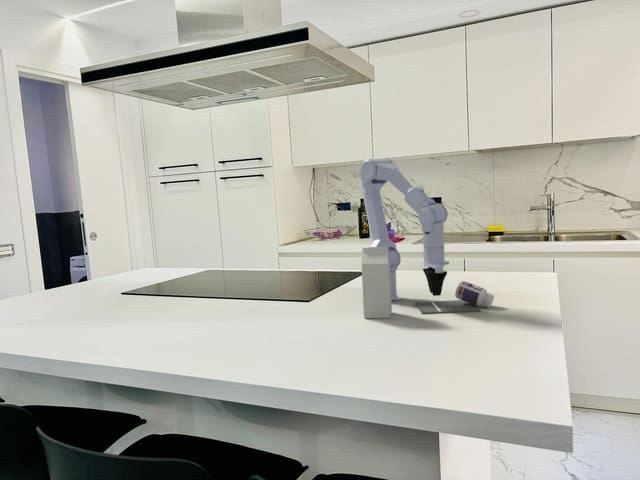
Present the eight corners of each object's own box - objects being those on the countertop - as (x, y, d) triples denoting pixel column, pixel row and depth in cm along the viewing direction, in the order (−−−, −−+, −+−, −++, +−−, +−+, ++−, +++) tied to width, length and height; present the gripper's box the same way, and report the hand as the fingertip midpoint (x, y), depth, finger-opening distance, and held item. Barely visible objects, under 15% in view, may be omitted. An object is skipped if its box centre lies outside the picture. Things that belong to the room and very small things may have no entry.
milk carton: (390, 318, 133) (387, 248, 131) (363, 318, 134) (360, 249, 133) (391, 312, 140) (389, 245, 138) (366, 312, 141) (363, 246, 140)
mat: (422, 313, 136) (422, 312, 136) (414, 303, 149) (414, 301, 149) (480, 311, 136) (480, 309, 136) (468, 301, 148) (468, 299, 148)
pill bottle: (455, 300, 145) (487, 313, 140) (453, 291, 141) (487, 304, 136) (463, 286, 147) (495, 298, 142) (462, 276, 143) (495, 289, 138)
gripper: (453, 249, 133) (455, 298, 135) (442, 243, 148) (444, 288, 149) (427, 250, 134) (429, 299, 135) (418, 244, 148) (420, 289, 149)
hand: (435, 293), depth 142 cm, fingers open, 3 cm apart
